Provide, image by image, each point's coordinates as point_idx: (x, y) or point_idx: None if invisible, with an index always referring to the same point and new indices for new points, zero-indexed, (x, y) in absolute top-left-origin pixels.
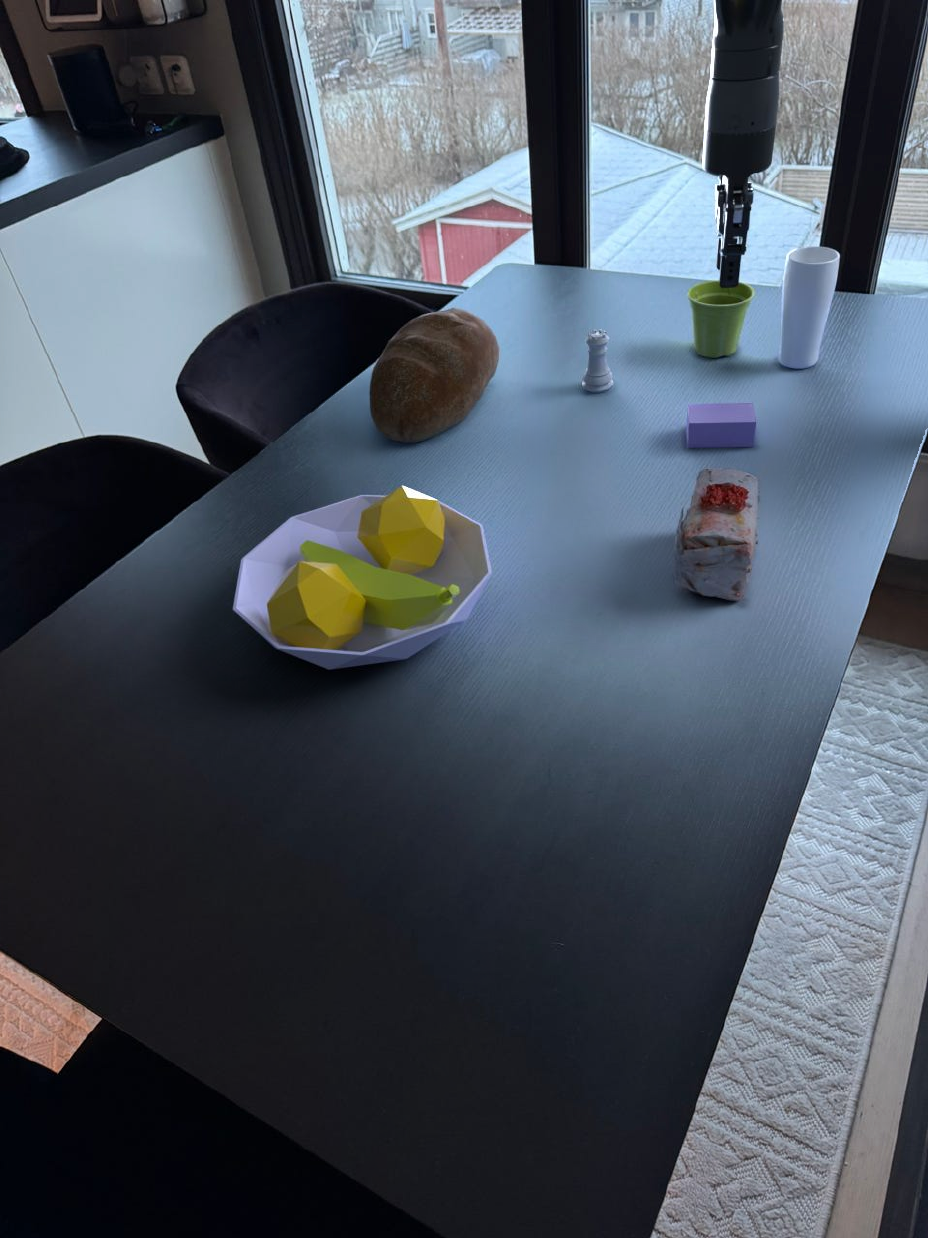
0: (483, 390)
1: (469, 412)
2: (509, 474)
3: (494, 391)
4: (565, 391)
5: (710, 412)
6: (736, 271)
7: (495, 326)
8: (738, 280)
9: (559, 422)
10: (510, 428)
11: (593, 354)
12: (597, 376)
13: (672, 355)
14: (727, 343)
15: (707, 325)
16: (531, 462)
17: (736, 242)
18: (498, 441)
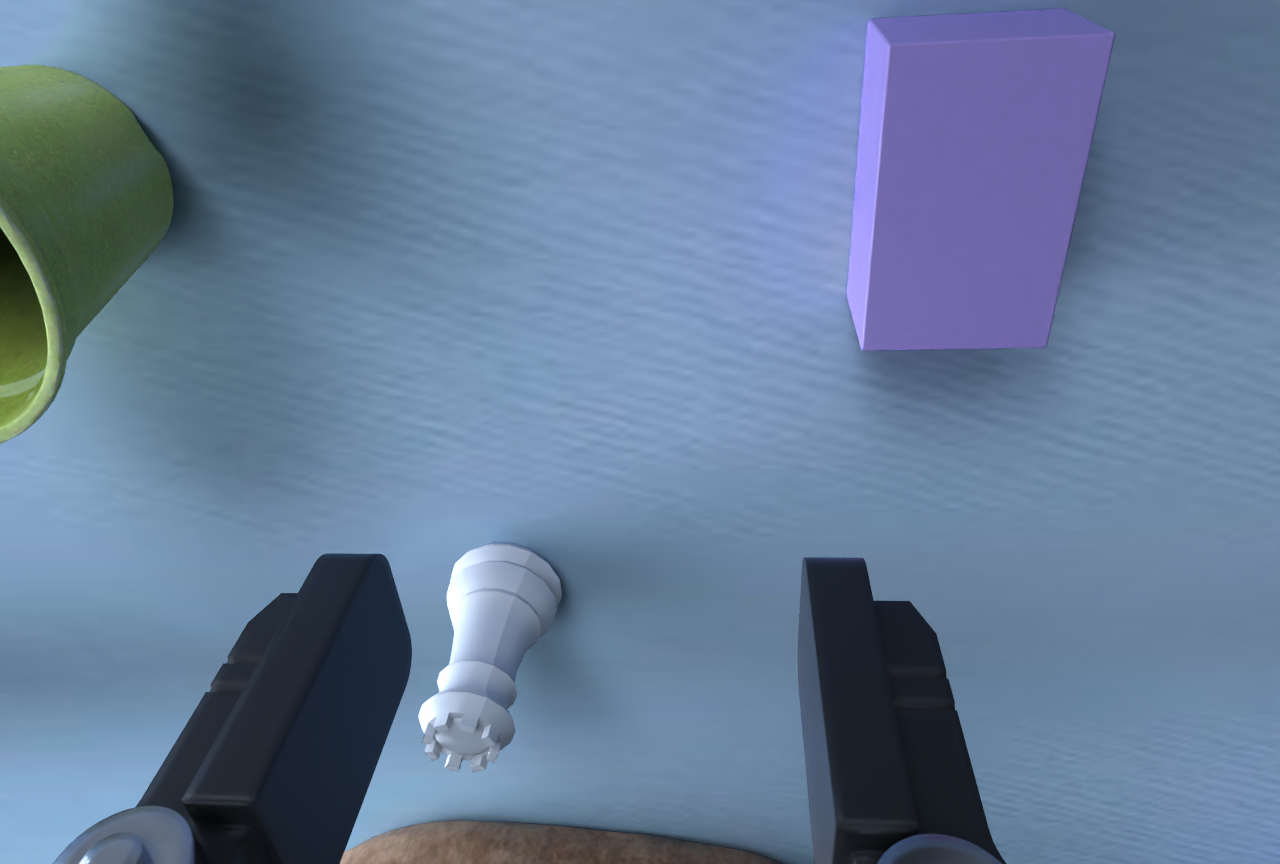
0: (643, 856)
1: (732, 854)
2: (1064, 750)
3: (563, 800)
4: (550, 655)
5: (962, 258)
6: (954, 712)
7: None
8: (869, 590)
9: (763, 662)
10: (792, 760)
11: (515, 696)
12: (539, 621)
13: (192, 347)
14: (111, 140)
15: (102, 286)
16: (1006, 711)
17: (278, 763)
18: None
